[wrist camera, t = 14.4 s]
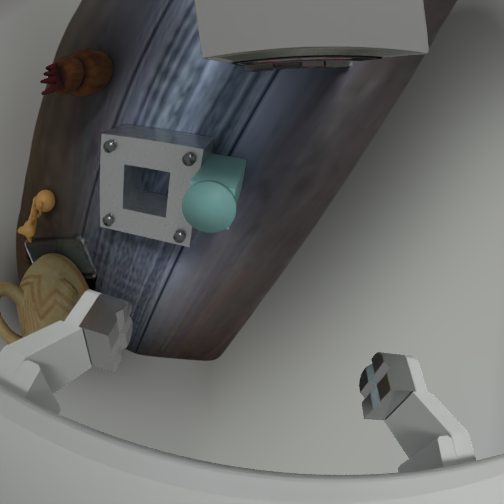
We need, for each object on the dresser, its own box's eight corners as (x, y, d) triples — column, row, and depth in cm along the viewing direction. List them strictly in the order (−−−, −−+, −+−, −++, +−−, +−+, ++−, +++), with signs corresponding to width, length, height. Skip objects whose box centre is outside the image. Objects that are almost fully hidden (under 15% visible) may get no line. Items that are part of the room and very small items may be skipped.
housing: (124, 123, 42) (99, 134, 36) (214, 137, 43) (202, 150, 36) (120, 207, 49) (98, 228, 43) (200, 224, 50) (188, 249, 44)
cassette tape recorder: (246, 72, 37) (201, 71, 16) (240, 31, 34) (189, -18, 13) (350, 67, 36) (431, 66, 14) (346, 25, 32) (421, -22, 11)
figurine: (47, 172, 47) (3, 200, 37) (71, 185, 48) (30, 216, 38) (41, 210, 51) (2, 241, 41) (64, 223, 52) (27, 258, 42)
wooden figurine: (117, 91, 39) (56, 105, 27) (86, 93, 40) (21, 110, 27) (119, 47, 36) (57, 46, 23) (87, 52, 36) (21, 56, 23)
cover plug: (209, 149, 44) (184, 178, 33) (251, 156, 44) (240, 188, 33) (204, 188, 47) (179, 227, 36) (243, 195, 47) (231, 237, 36)
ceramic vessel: (68, 317, 66) (18, 398, 45) (20, 250, 57) (-48, 324, 36) (116, 303, 61) (63, 401, 40) (63, 224, 52) (-20, 310, 31)
